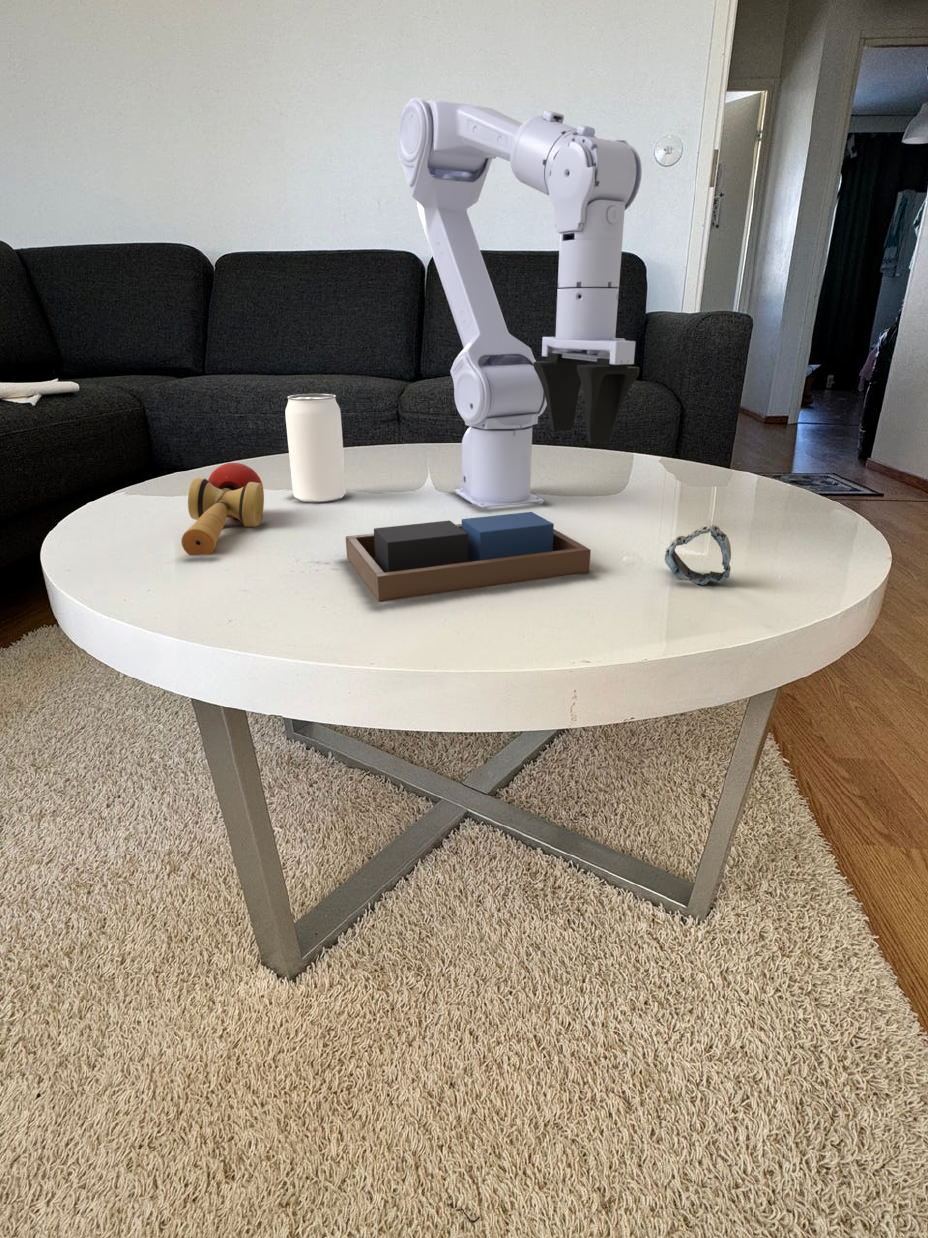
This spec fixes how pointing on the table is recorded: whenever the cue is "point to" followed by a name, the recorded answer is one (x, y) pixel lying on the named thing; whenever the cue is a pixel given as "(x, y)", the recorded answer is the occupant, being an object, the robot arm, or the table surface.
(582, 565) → the tray
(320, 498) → the can
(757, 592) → the table surface
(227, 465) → the kendama
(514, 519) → the blue rectangular block
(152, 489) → the table surface
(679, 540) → the rough grey ring
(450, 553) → the black rectangular block
